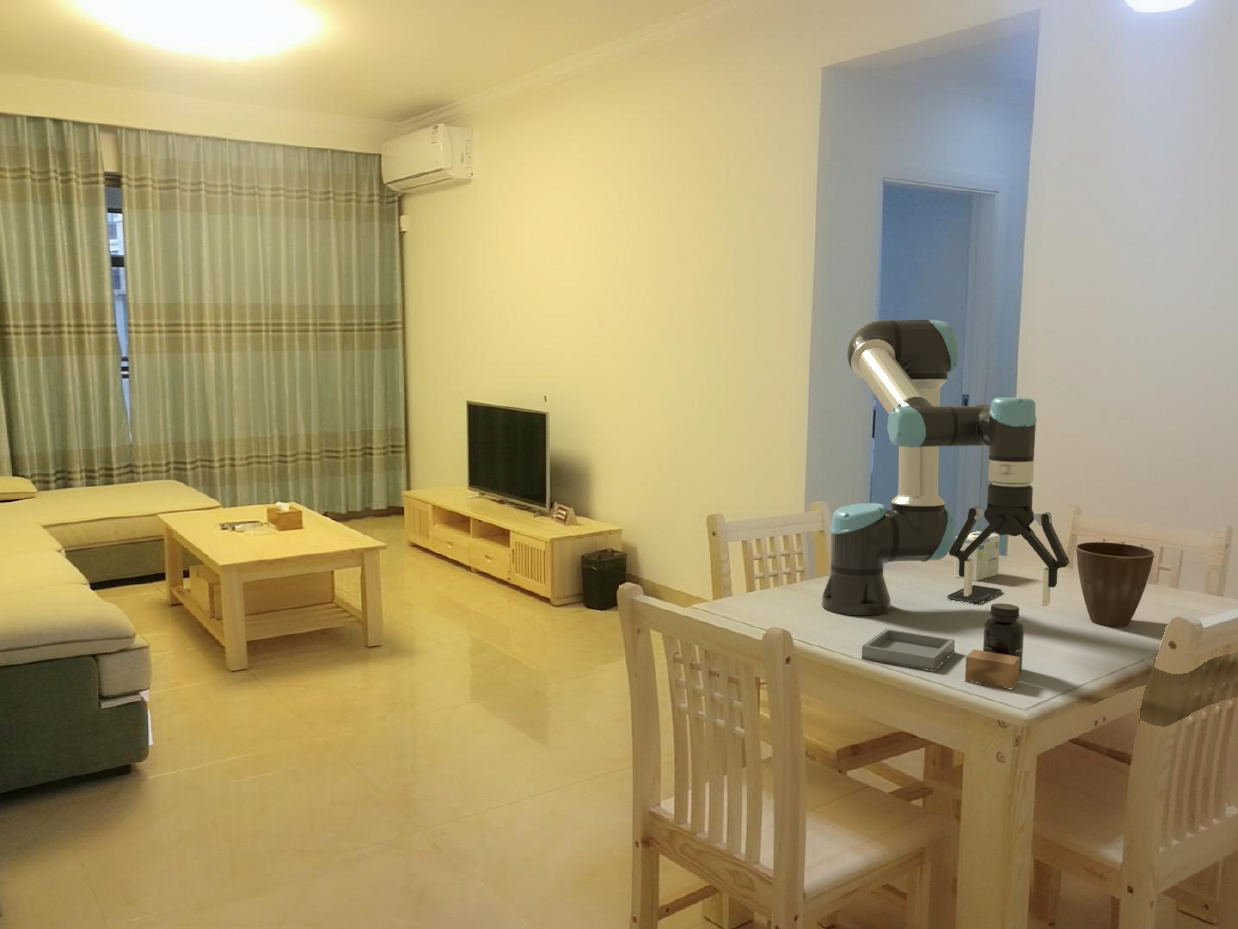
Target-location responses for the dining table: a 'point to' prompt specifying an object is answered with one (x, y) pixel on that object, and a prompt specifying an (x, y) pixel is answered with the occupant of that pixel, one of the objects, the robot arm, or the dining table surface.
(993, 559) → the light bulb box
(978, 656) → the block
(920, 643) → the tray
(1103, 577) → the plant pot
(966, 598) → the phone
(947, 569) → the dining table surface
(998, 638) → the supplement bottle
